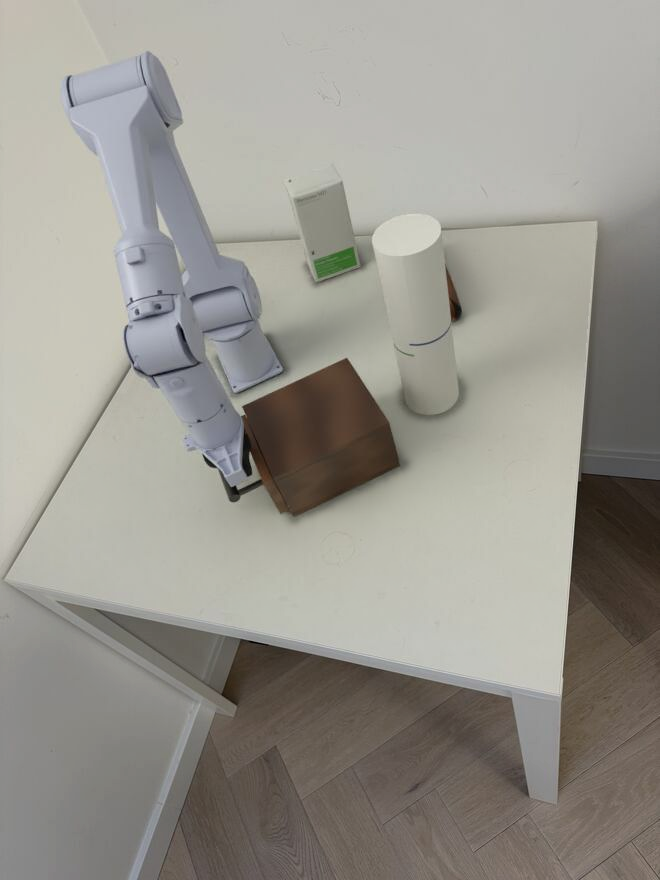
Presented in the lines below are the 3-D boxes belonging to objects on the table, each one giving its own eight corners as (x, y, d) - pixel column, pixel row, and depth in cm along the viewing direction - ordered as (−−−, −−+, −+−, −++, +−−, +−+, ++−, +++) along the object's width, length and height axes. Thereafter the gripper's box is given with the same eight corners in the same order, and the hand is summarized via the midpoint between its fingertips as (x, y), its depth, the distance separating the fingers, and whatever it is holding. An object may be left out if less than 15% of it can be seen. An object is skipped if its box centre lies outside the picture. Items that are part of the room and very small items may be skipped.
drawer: (245, 531, 77) (225, 501, 71) (221, 465, 84) (201, 434, 79) (379, 466, 78) (369, 432, 73) (344, 407, 85) (333, 372, 80)
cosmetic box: (315, 284, 105) (289, 199, 93) (306, 262, 109) (280, 179, 97) (363, 266, 105) (343, 180, 93) (352, 245, 109) (331, 160, 97)
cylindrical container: (456, 415, 81) (437, 253, 62) (401, 414, 83) (366, 258, 64) (460, 374, 85) (444, 210, 66) (408, 374, 87) (377, 216, 68)
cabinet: (293, 517, 77) (272, 477, 71) (263, 447, 85) (241, 406, 79) (400, 466, 78) (389, 422, 72) (360, 401, 86) (347, 357, 80)
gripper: (154, 377, 72) (200, 448, 82) (181, 465, 63) (229, 533, 73) (210, 351, 73) (249, 425, 83) (246, 435, 63) (284, 507, 74)
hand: (243, 474), depth 78 cm, fingers closed
